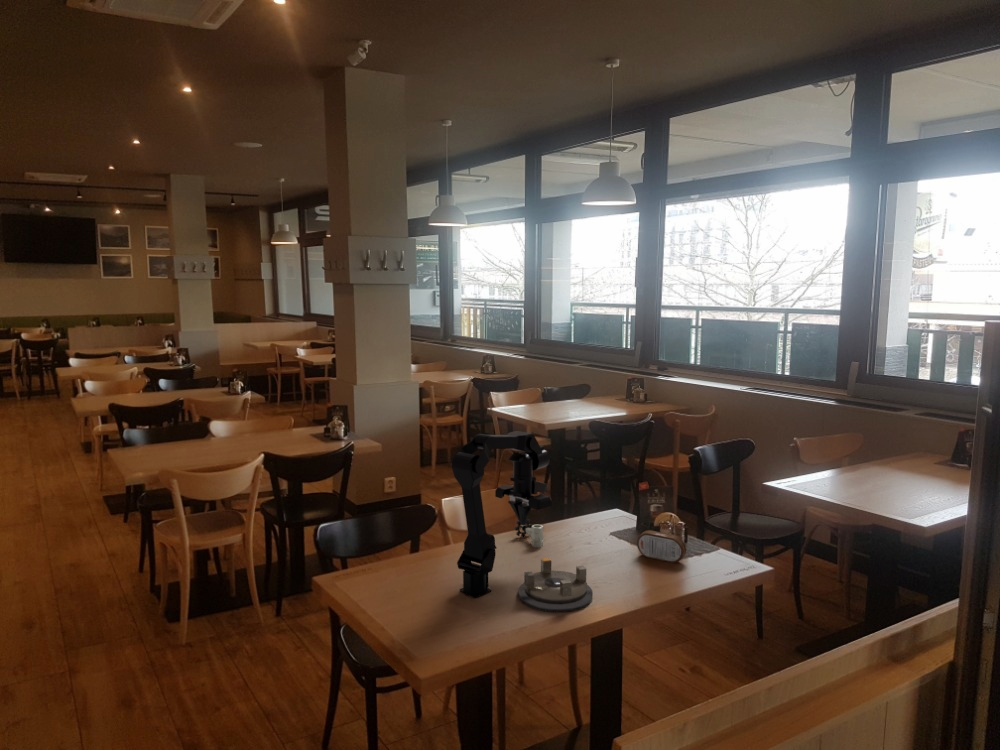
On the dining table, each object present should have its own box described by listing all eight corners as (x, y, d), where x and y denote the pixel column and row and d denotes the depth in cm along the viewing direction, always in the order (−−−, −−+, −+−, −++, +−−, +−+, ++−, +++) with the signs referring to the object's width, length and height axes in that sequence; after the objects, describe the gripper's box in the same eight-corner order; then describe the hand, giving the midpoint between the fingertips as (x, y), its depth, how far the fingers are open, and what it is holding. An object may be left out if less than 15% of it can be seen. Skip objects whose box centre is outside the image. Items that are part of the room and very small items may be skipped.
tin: (686, 562, 212) (686, 536, 211) (682, 566, 209) (683, 539, 208) (639, 553, 220) (639, 527, 219) (635, 556, 217) (636, 530, 216)
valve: (549, 546, 226) (531, 535, 237) (549, 526, 226) (531, 516, 236) (531, 549, 224) (514, 538, 234) (531, 529, 223) (514, 519, 233)
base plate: (558, 619, 175) (558, 611, 175) (503, 595, 189) (503, 587, 189) (607, 596, 188) (607, 588, 188) (552, 574, 203) (552, 567, 203)
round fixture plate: (597, 599, 183) (597, 578, 182) (536, 607, 178) (536, 585, 178) (572, 574, 199) (573, 555, 198) (516, 581, 194) (516, 561, 194)
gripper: (564, 474, 204) (564, 526, 206) (520, 463, 218) (520, 511, 220) (538, 481, 197) (538, 535, 199) (494, 469, 210) (494, 519, 212)
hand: (522, 524), depth 207 cm, fingers closed
